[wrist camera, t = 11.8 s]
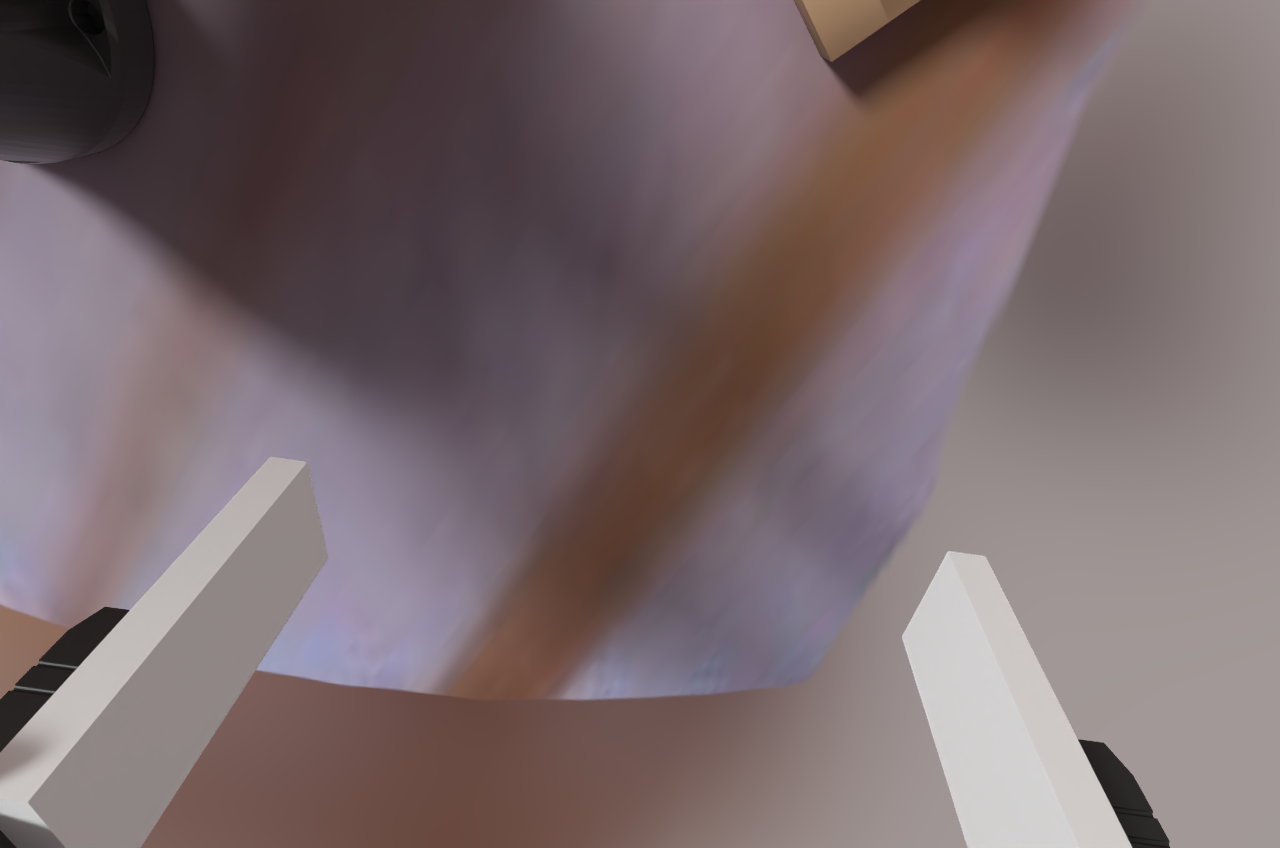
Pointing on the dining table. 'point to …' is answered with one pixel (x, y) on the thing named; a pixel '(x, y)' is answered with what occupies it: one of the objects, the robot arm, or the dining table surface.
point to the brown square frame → (846, 21)
